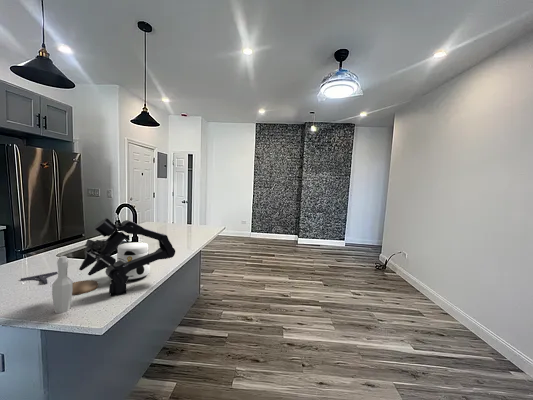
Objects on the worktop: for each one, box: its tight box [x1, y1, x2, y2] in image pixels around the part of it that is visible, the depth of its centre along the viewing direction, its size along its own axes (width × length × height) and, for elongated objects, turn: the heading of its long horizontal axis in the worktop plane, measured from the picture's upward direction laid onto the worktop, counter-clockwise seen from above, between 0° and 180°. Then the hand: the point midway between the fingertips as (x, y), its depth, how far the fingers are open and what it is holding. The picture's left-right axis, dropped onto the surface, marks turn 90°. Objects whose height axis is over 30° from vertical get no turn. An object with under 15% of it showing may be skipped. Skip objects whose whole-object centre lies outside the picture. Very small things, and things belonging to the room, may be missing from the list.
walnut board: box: [72, 279, 99, 296], centre depth 119 cm, size 14×14×2 cm
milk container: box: [116, 241, 151, 281], centre depth 137 cm, size 17×17×18 cm
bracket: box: [20, 271, 58, 285], centre depth 127 cm, size 14×15×3 cm
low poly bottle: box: [51, 255, 74, 314], centre depth 99 cm, size 6×6×22 cm
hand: (84, 272), depth 105 cm, fingers open, 9 cm apart
